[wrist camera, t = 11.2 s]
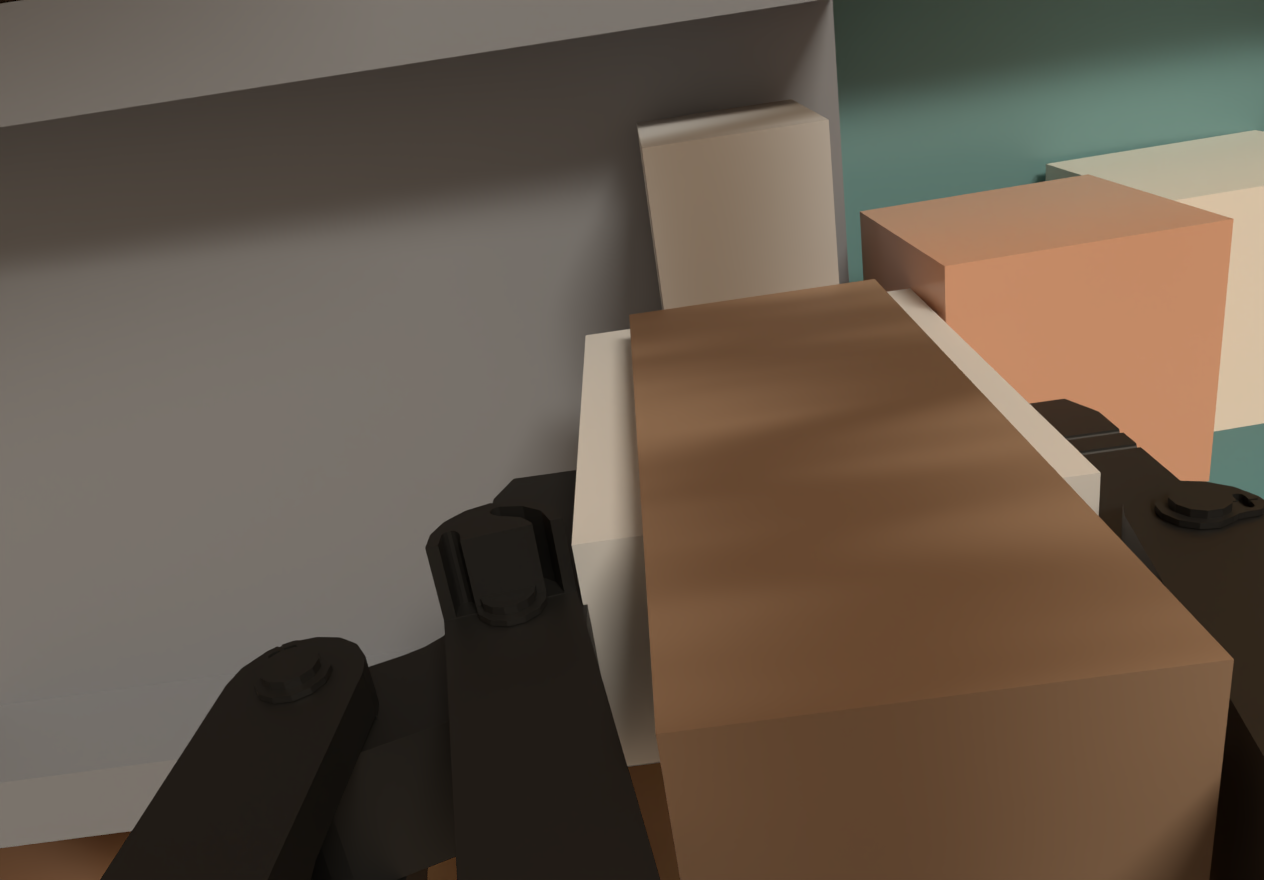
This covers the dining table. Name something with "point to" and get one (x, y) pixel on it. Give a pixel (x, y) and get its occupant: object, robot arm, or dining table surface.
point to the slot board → (303, 324)
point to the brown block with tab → (881, 573)
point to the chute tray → (1038, 105)
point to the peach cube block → (1077, 298)
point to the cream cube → (1260, 248)
